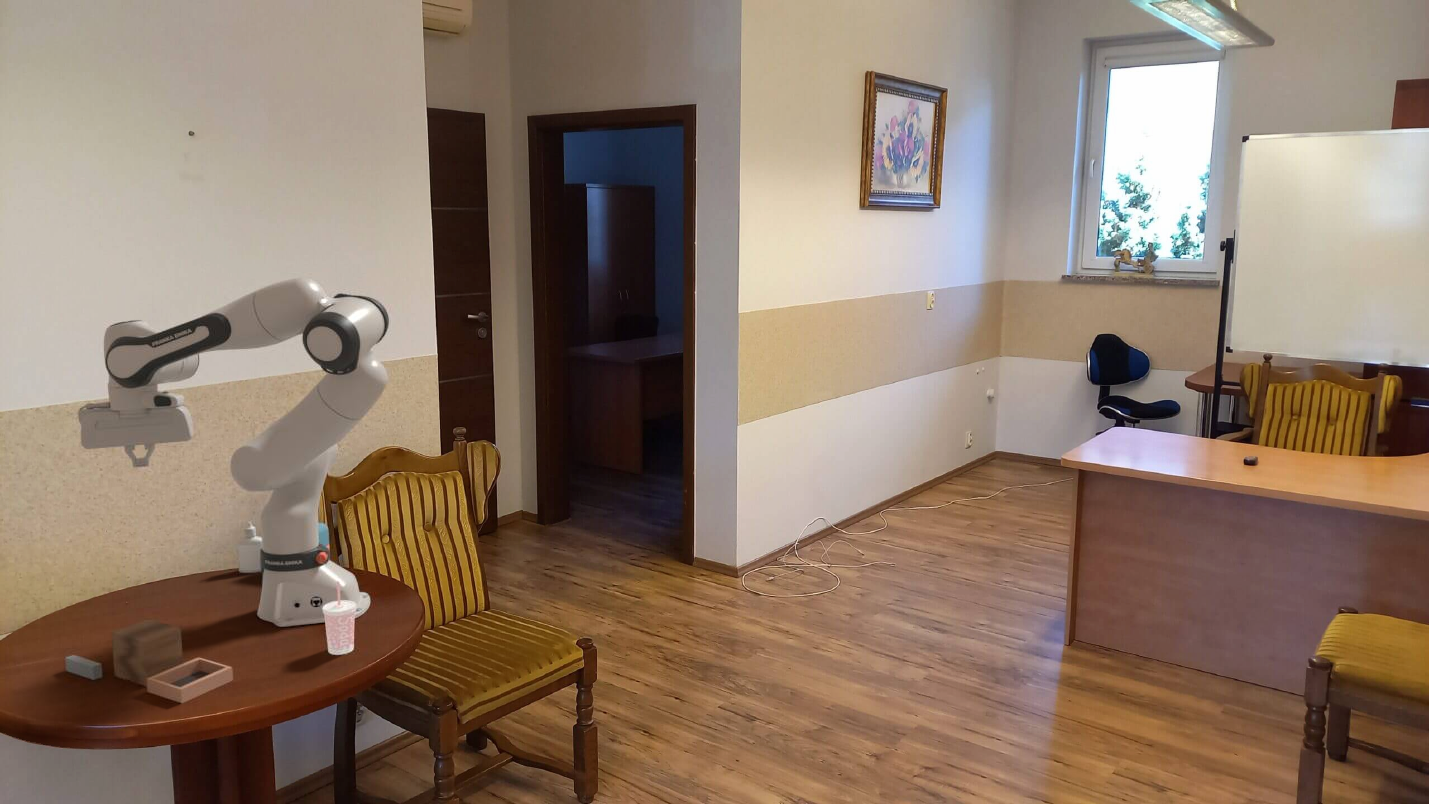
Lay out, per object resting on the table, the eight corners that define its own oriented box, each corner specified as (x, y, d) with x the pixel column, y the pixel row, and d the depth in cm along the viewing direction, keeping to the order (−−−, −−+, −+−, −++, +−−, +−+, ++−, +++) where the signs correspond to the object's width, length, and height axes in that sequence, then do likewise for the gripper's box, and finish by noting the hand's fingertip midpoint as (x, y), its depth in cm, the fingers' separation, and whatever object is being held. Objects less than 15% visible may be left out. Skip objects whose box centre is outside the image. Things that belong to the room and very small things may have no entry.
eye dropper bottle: (257, 574, 229) (254, 525, 227) (235, 572, 230) (232, 524, 228) (268, 568, 233) (266, 520, 231) (247, 566, 234) (244, 518, 232)
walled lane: (66, 670, 177) (65, 657, 176) (134, 645, 188) (134, 632, 188) (94, 680, 173) (92, 667, 173) (162, 653, 185) (161, 641, 185)
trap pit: (147, 691, 170) (146, 678, 169) (199, 670, 178) (198, 657, 178) (182, 703, 166) (181, 689, 165) (233, 680, 175) (232, 667, 174)
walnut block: (114, 676, 175) (111, 632, 174) (151, 661, 182) (148, 618, 180) (147, 687, 172) (143, 641, 170) (183, 671, 178) (180, 628, 176)
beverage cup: (324, 658, 185) (321, 588, 182) (323, 645, 190) (320, 577, 188) (358, 653, 187) (356, 584, 185) (356, 641, 193) (354, 574, 190)
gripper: (71, 405, 193) (79, 473, 195) (185, 397, 199) (192, 463, 200) (82, 403, 199) (90, 469, 201) (192, 395, 205) (199, 460, 206)
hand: (141, 466), depth 200 cm, fingers closed
